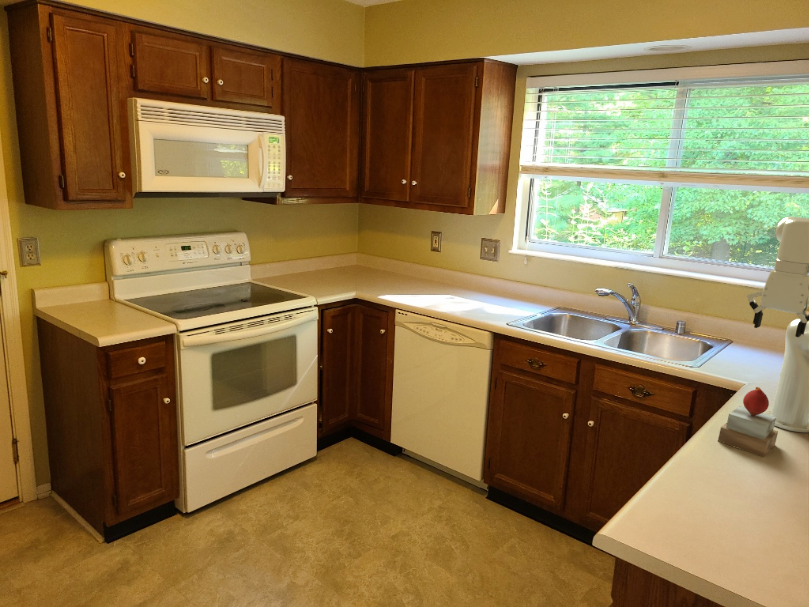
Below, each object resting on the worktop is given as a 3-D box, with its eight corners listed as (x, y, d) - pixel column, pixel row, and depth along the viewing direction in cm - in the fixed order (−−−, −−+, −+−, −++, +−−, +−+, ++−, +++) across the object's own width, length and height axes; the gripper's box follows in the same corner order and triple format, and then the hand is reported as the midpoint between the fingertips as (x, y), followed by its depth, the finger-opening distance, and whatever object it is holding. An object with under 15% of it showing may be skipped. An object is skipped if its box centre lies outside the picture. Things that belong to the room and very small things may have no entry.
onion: (757, 411, 164) (763, 383, 162) (770, 420, 158) (777, 391, 156) (736, 410, 164) (742, 382, 162) (748, 419, 158) (755, 390, 156)
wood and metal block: (731, 430, 170) (736, 403, 169) (774, 445, 163) (781, 417, 161) (717, 441, 163) (723, 413, 161) (763, 456, 155) (769, 428, 153)
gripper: (834, 273, 153) (818, 337, 157) (758, 261, 164) (745, 322, 168) (828, 275, 148) (811, 342, 152) (750, 263, 159) (737, 325, 163)
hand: (777, 331), depth 160 cm, fingers open, 9 cm apart
